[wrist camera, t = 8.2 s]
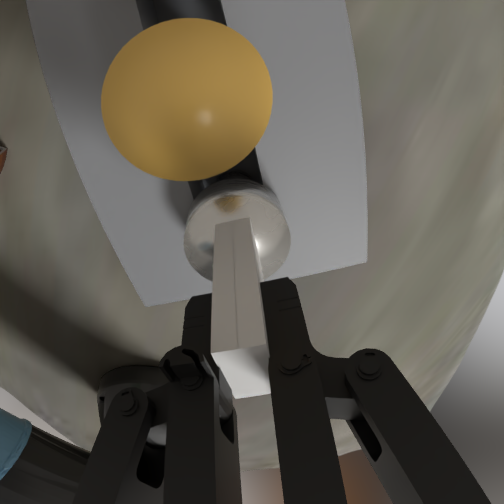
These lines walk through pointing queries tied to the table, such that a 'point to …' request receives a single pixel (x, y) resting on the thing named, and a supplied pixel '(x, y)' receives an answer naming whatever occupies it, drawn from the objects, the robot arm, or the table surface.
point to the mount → (254, 164)
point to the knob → (234, 208)
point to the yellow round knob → (186, 99)
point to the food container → (2, 157)
